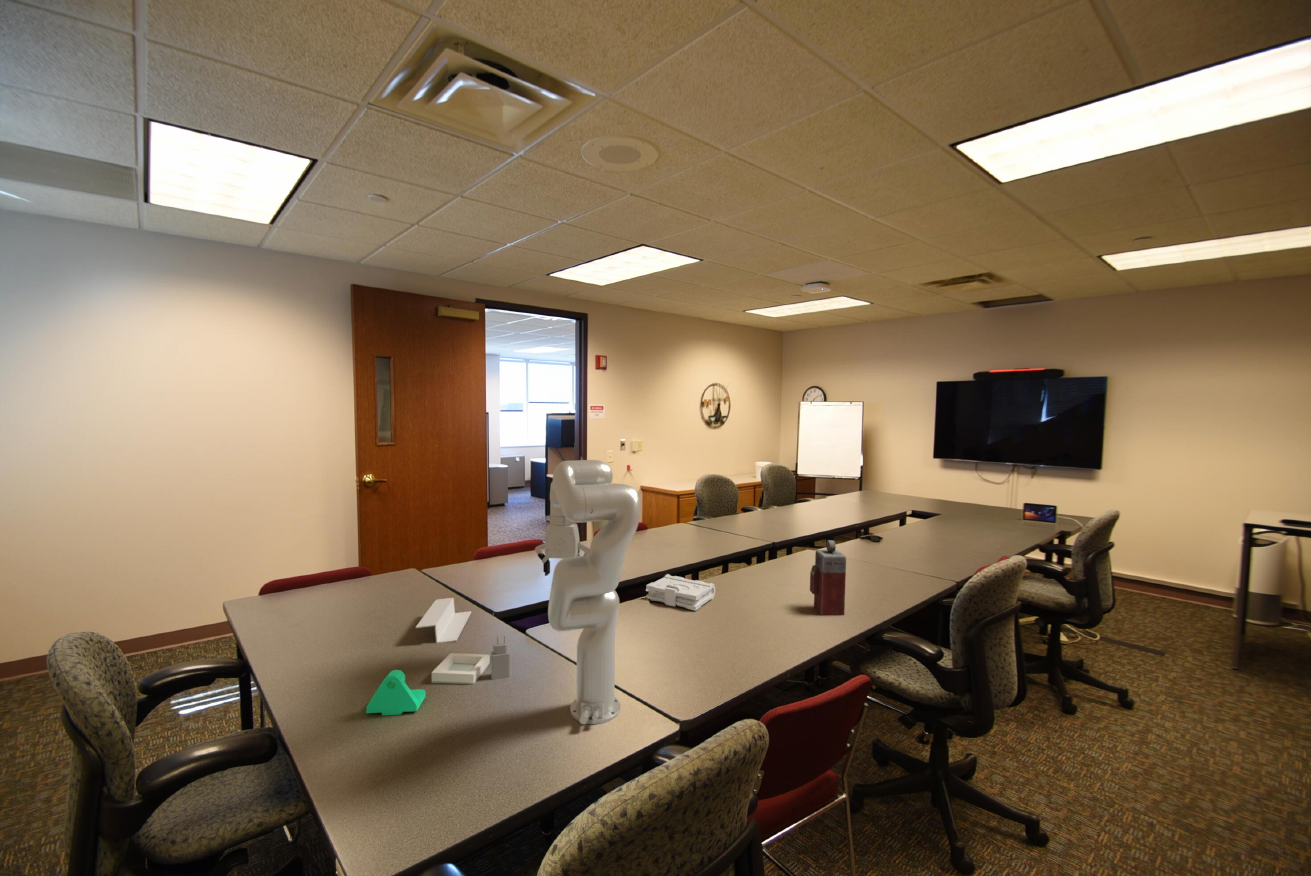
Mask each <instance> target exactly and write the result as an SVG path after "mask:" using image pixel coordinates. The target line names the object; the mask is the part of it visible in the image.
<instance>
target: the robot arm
mask: <svg viewBox="0 0 1311 876" xmlns="http://www.w3.org/2000/svg"><path fill="white" fill-rule="evenodd" d="M613 474H614V473H613V470H612V468H611V467H610V465H608V464H607V462H605V461H602V460H598V459H581V460H580V459H579V460H562V461H560V462H559V463H557V465H556V466H555V468H554V470H553V474H552V481H551V482H550V491H549V502H550V506H549V507H550V513H549V515H546V516H545V520H546V521H549V523H548V524H547V527H546V532H545V540H544V543H542V544H539V545H537V546H535V548H534V551H535V553H536V554H537V557H538V558H539V559H540V560H541V563H542V564H543V568H542V569H543V573H544V576H546V577H547V576H549V574H551V561H550V560H549V559H559V561H558V562H557V563H556V565H555V566H554V570H553V574H552V581H551V585H550V586H551V588H550V593H549V598H548V606H547V608H548V609H547V617H548V622H549V625H550V627H551V628H552V629H553V630H554V631H556V632H569V631H576V630H581V632H580V634H579V637H578V640H577V644H576V699H574V700H573V701H572V702H571V703H570V707H569V708H570V709H569V710H570V711H569V713H570V715H571V717H572V718H573V719H574V720H575V721H577V722H578V723H580V724H582V725H586V724H587V725H600V724H601V725H602V724H605V723H607V722H610V721H612V720H614V719H615V718H617V716H619V714H620V713H621V702H620V700H619V699H617V698H616V697H615V678H616V677H615V674H616V673H615V672H616V671H615V669H616V667H615V665H616V664H615V663H616V659H615V658H616V632H617V631H616V630H617V624H618V617H619V612H620V597H619V595H618V593H617V591H616V589H617V587H618V586H619V583H620V580H621V575H622V572H623V567H624V563H625V559H626V555H627V550H628V549H629V545H630V544H631V542H632V540H633V537H634V536H635V535H636V534H635V533H636V531H637V529H638V526H639V524H640V523H639V522H640V517H641V498H640V494H639V493H638V491H637V489H636V488H635V487H633V486H631V485H628V484H624V483H612V482H613V477H614V475H613ZM602 521H603V522H605V521H606V522H607V523H605V525H603V526H602V527H601V528H600V529H599V530H598V531H597V533H596V534H595V535H594V536H593V538H592V540H591V541H590V546H589V547H587V546H585V544H582V543H580V532H579V527H578V524H577V523H592V522H602ZM543 549H544V552H543V551H542V550H543ZM580 551H583V552H584V554H583V555H580ZM560 559H561V560H560Z"/></svg>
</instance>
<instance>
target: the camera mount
mask: <svg viewBox="0 0 1311 876" xmlns="http://www.w3.org/2000/svg"><path fill="white" fill-rule="evenodd" d="M425 698H426V689H425V688H424V689H410V687H409V686H408V685H407V683H406V675H405V673H404V672H403V671H402V670H399V669H393V670H391V671H390V672H389V673H388V674H387V675H386V676H385V678H384V679H383V680H382V682H381V684H380V685H379V686H378V688H377V690H376V691H375V693H374V695H372V698H371V699H370V701H369V703H368V704H367V705H366V710H365V713H366V714H378V713H381V716H394V715H395V716H396V715H397V716H398V715H403V713H404V712H406V713H407V712H418V710H419V709H420V706H421V705H422V703H423V702H424V700H425Z"/></svg>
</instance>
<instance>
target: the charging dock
mask: <svg viewBox="0 0 1311 876" xmlns="http://www.w3.org/2000/svg"><path fill="white" fill-rule="evenodd" d="M490 661H491V654H487V653H486V654H483V653H463V652H462V653H461V652H458V653H456V652H450V653H449V654H448V655H447V656H446V657H445V658H444V659H443V660H442V661H441V662H440V663H439V664H438V665H437V666H436V667H435V668H434V669H433V671H432V672H431V684H457V685H460V684H461V685H462V684H463V685H475V683H476V682H477V681H478V680H479V678H480V677H481V676H482V675H483V673H484V672H485V671H486V670H487V668H488V667H489V665H491V662H490Z"/></svg>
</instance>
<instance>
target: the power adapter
mask: <svg viewBox="0 0 1311 876" xmlns="http://www.w3.org/2000/svg"><path fill="white" fill-rule="evenodd" d="M496 638H497V639H496V643H494V644H493V645H492V651H491V653H490V661H491V662H490V667H491V668H490V671H491V672H490V676H491V677H490V679H491V680H500V679H506V678H507V679H508V678H511V676H512V650H511V649H510V643H509V642H506V635H504V636H503V642H499V636H498V635H497V637H496Z"/></svg>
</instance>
